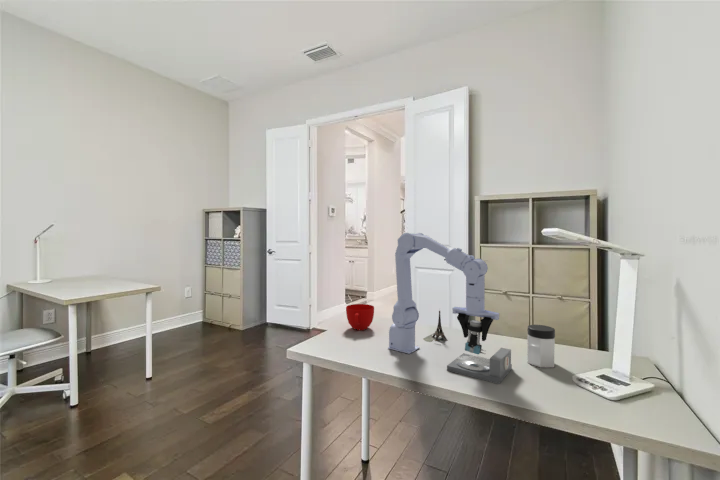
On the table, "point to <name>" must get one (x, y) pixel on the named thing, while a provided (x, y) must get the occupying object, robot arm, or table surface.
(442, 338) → the eiffel tower figurine
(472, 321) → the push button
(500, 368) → the postal scale
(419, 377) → the table surface
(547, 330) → the jar
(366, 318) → the ceramic cup
